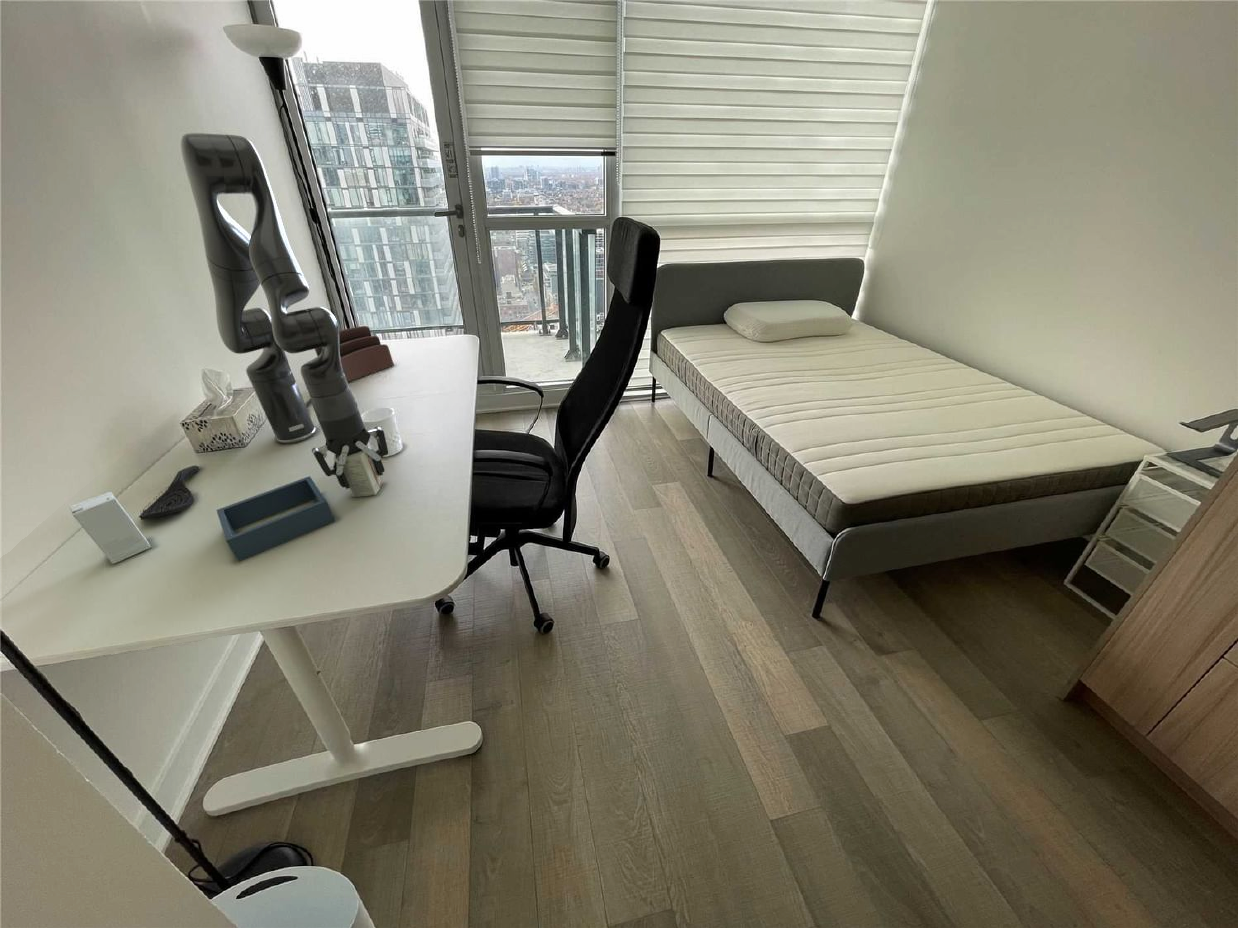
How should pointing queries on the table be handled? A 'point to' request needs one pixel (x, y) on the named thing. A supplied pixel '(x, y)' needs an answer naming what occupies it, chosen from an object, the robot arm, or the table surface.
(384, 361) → the letter holder
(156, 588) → the table surface
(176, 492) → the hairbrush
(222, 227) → the robot arm
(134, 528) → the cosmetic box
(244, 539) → the blue open box
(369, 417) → the white cup
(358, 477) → the white rectangular carton
